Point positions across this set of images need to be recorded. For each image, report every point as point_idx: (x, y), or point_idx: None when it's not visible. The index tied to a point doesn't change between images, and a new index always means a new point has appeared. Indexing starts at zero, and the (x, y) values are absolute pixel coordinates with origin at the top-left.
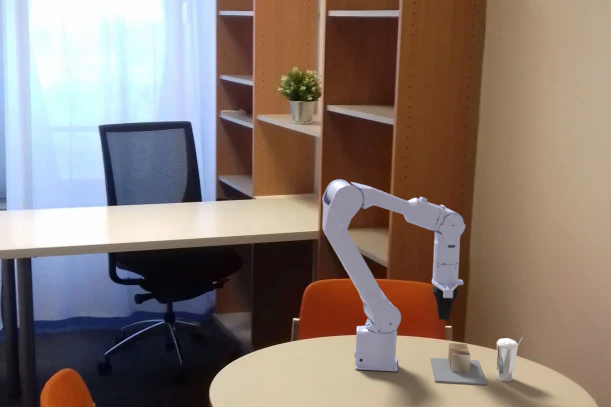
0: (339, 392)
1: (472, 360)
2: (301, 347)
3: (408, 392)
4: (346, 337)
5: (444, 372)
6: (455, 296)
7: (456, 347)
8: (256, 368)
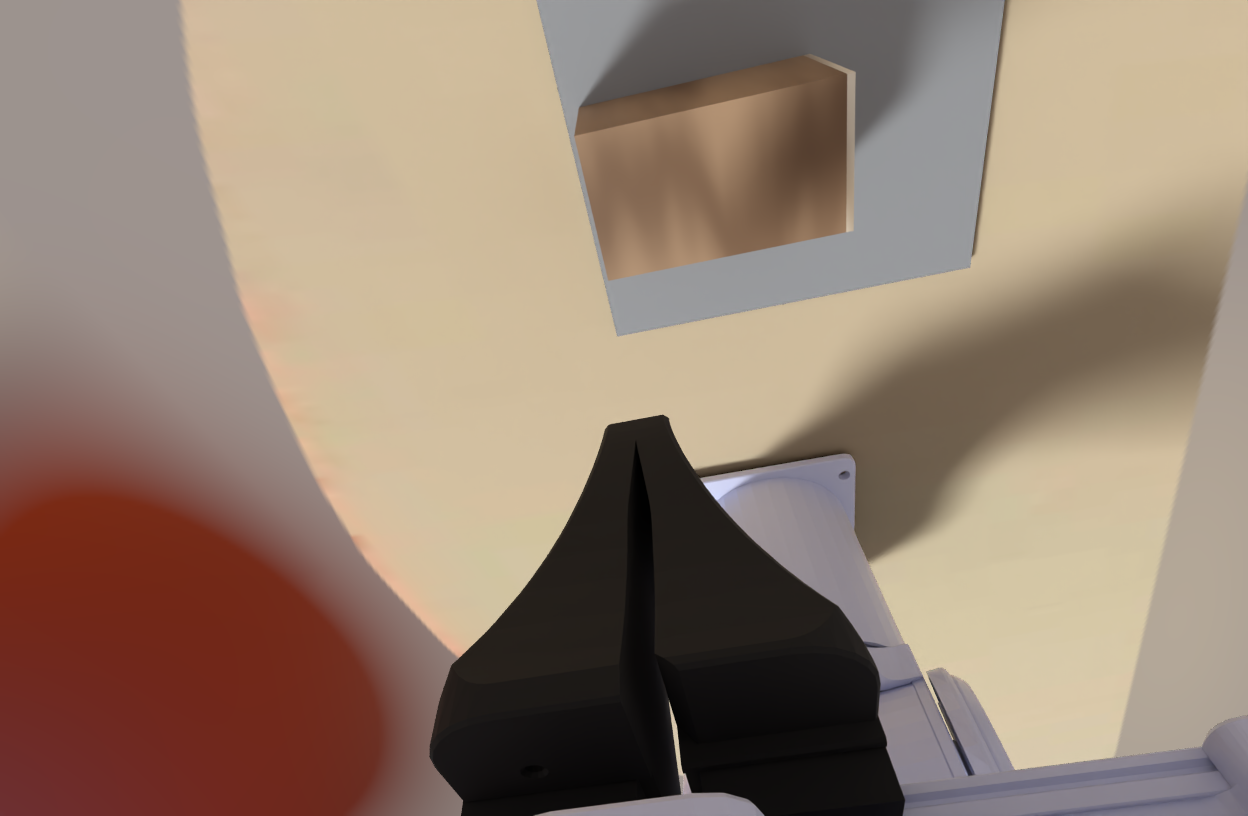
0: (1074, 582)
1: (560, 47)
2: None
3: (1097, 369)
4: None
5: None
6: (843, 620)
7: (688, 214)
8: None
